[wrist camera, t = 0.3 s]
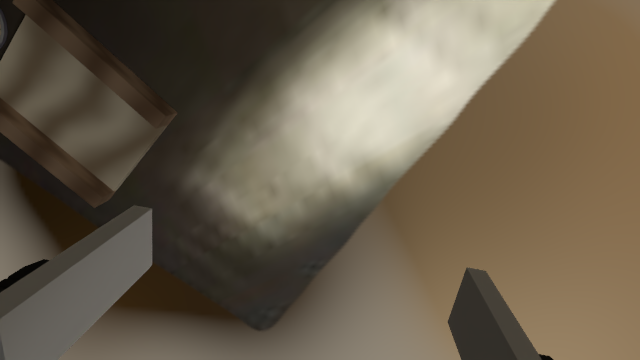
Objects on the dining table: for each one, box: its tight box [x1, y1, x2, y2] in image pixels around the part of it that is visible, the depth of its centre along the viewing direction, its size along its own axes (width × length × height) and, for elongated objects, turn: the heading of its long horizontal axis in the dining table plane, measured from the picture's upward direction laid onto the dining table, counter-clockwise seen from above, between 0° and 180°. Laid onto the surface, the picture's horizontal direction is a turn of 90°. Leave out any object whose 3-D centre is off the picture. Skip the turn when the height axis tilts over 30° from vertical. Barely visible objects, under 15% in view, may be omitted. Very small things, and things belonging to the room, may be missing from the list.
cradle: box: [0, 0, 177, 208], centre depth 41 cm, size 19×16×3 cm
